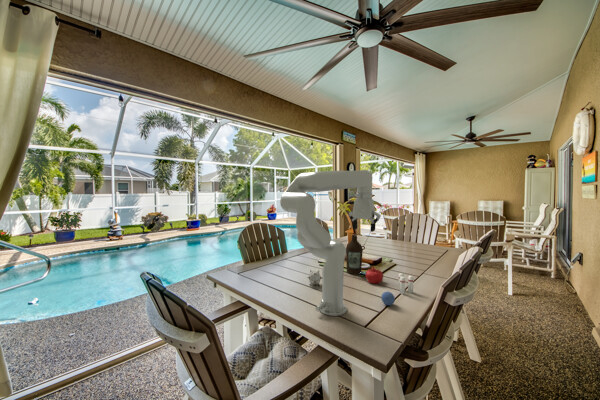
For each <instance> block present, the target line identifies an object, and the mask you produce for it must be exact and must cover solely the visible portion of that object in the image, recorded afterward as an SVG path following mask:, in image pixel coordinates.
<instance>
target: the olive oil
mask: <svg viewBox="0 0 600 400" xmlns="http://www.w3.org/2000/svg"><path fill="white" fill-rule="evenodd" d="M345 248H346V256H345V261H346V273H347V274H349V275H351V276H353V275H354V276H355V275H356V276H358V275H360V274H359V273H360V272H361V273H362V269H363V267H362V266H363V264H362V261H363V246H362V245H361V243H360V242H359V240H358V234H354V233H352V234H351V240H350V241H349V242H348V243H347V244H346V246H345Z"/></svg>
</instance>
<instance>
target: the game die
mask: <svg viewBox="0 0 600 400" xmlns="http://www.w3.org/2000/svg"><path fill="white" fill-rule="evenodd" d="M307 279H308V280H309V284H310V286H312V285H318V286H320V282H321V281H322V275H321V274H320V270H317V271H316V270H315V271H313V270H311V269H310V273H309V274H308V276H307Z"/></svg>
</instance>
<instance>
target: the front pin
mask: <svg viewBox="0 0 600 400" xmlns="http://www.w3.org/2000/svg"><path fill="white" fill-rule="evenodd" d="M399 294H400V295H405V294H406V277H405V276H404V277H400V290H399Z"/></svg>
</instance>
